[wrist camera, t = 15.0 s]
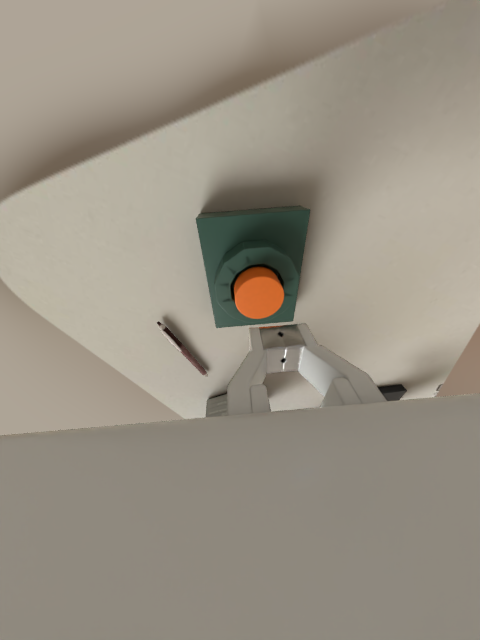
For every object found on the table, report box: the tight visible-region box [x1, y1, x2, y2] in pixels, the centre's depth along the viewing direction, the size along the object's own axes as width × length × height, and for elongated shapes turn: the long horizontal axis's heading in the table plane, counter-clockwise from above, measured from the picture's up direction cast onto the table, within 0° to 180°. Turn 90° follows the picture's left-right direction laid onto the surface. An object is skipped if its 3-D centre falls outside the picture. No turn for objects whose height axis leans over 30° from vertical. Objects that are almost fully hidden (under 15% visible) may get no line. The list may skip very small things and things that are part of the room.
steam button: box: [234, 267, 284, 319], centre depth 14 cm, size 4×4×2 cm
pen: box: [157, 322, 208, 377], centre depth 23 cm, size 11×1×1 cm, turn 22°
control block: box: [196, 206, 310, 328], centre depth 16 cm, size 10×8×4 cm
